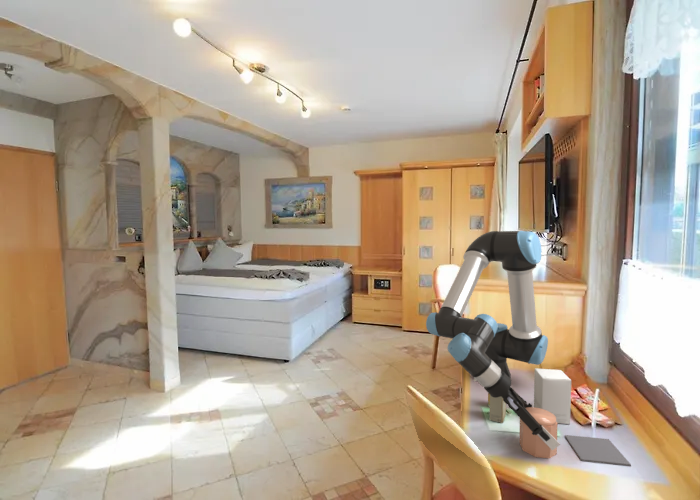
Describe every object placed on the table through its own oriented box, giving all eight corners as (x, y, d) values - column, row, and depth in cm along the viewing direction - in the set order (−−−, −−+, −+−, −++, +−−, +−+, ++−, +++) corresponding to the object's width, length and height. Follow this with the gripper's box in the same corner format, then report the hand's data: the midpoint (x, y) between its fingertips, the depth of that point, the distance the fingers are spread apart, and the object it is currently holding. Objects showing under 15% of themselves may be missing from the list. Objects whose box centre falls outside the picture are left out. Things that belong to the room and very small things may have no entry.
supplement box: (571, 425, 118) (572, 380, 117) (541, 422, 120) (542, 378, 119) (560, 411, 127) (562, 369, 126) (533, 409, 129) (534, 367, 128)
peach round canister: (517, 437, 111) (517, 406, 110) (549, 441, 109) (549, 408, 109) (525, 455, 102) (525, 421, 102) (560, 459, 100) (561, 424, 100)
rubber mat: (564, 436, 112) (564, 434, 112) (608, 440, 109) (608, 439, 109) (581, 460, 100) (581, 459, 100) (630, 466, 98) (631, 464, 97)
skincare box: (502, 423, 119) (503, 387, 118) (488, 420, 122) (489, 384, 121) (506, 415, 124) (506, 380, 124) (492, 412, 127) (492, 378, 126)
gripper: (477, 372, 118) (529, 424, 116) (489, 404, 97) (552, 468, 95) (494, 357, 117) (547, 410, 115) (510, 386, 96) (575, 451, 94)
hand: (549, 436), depth 105 cm, fingers closed on peach round canister, 9 cm apart
